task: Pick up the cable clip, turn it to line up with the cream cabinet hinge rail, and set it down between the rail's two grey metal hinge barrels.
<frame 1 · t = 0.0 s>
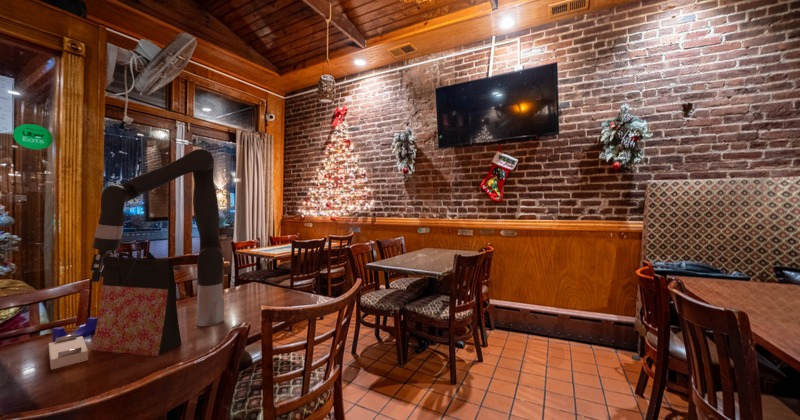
hand: (99, 279, 117), 22 cm above the table, tool pointing down, fingers open, 8 cm apart
gift bag: (140, 348, 110), on the table
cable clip: (74, 339, 117), on the table
hinge rail: (67, 355, 103), on the table
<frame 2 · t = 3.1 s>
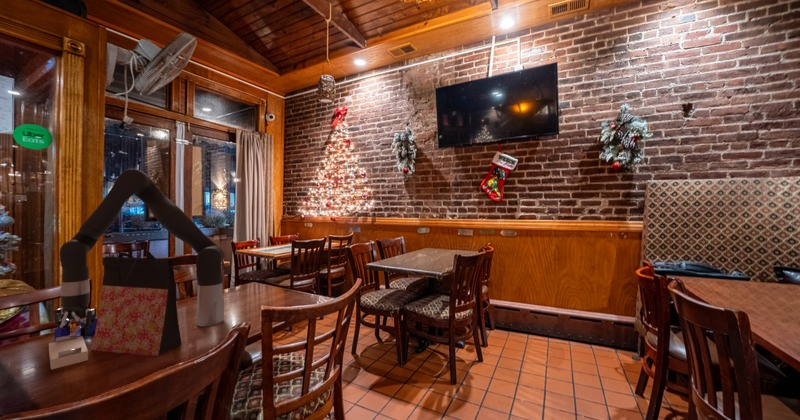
hand: (75, 336, 117), 1 cm above the table, tool pointing down, fingers open, 6 cm apart
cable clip: (75, 339, 117), on the table, touching gripper
everything else where it was.
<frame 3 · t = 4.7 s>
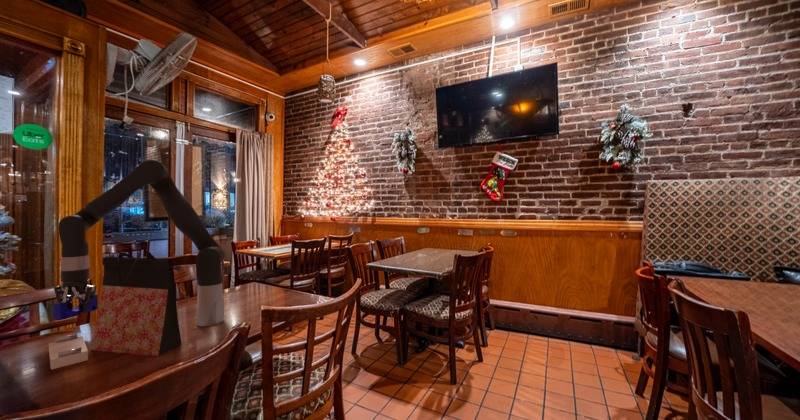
hand: (75, 312, 117), 10 cm above the table, tool pointing down, fingers closed on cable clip, 4 cm apart
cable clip: (74, 314, 117), point 9 cm above the table, touching gripper
everything else where it was.
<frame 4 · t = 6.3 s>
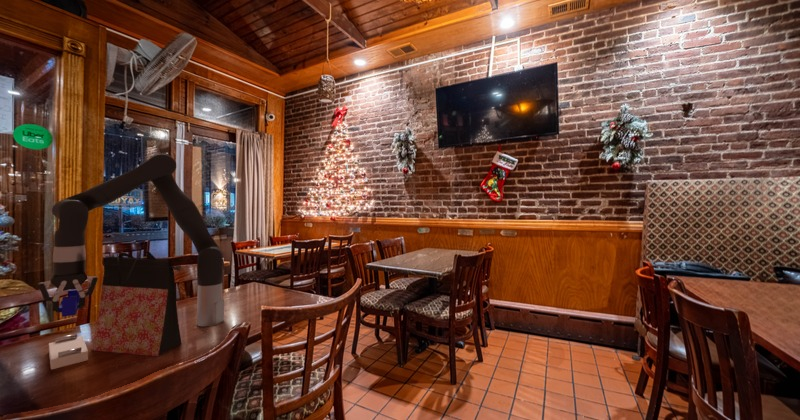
hand: (68, 309, 104), 15 cm above the table, tool pointing down, fingers closed on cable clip, 4 cm apart
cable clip: (68, 312, 104), point 15 cm above the table, touching gripper
everything else where it was.
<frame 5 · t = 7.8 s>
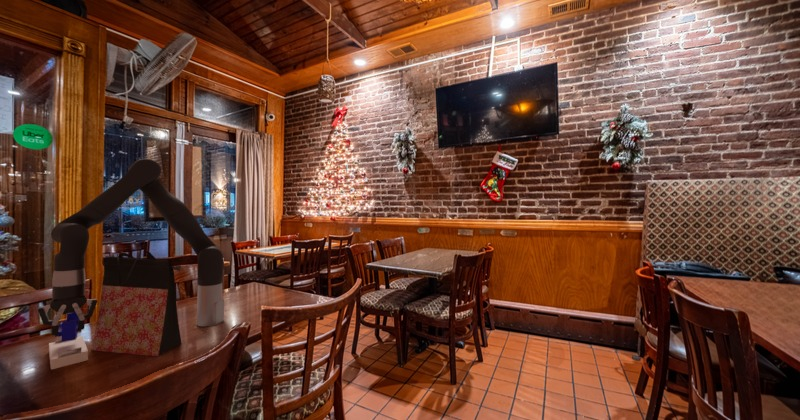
hand: (68, 333, 104), 8 cm above the table, tool pointing down, fingers closed on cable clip, 4 cm apart
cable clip: (67, 335, 103), point 7 cm above the table, touching gripper
everything else where it was.
when the fingers open (5 cm above the table, at t = 9.2 s): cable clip drops 1 cm, resting on hinge rail.
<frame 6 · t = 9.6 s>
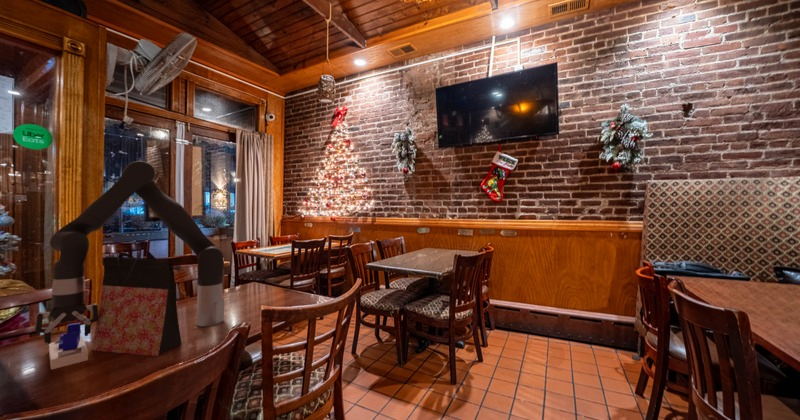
hand: (68, 339, 103), 6 cm above the table, tool pointing down, fingers open, 8 cm apart
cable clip: (68, 347, 103), point 3 cm above the table, touching hinge rail
everything else where it was.
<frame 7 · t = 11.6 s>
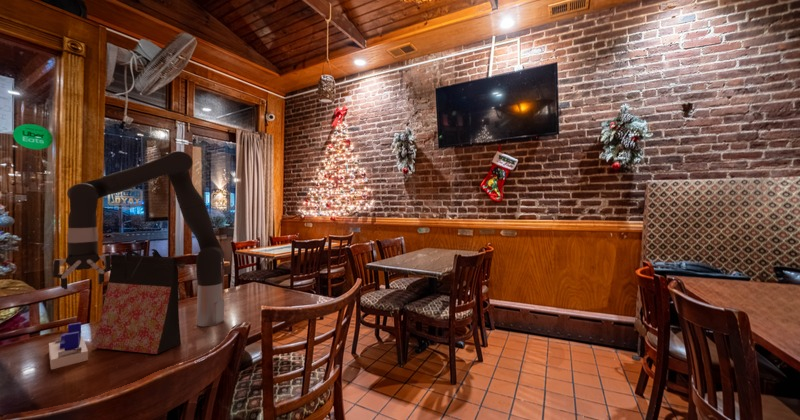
hand: (83, 286, 109), 22 cm above the table, tool pointing down, fingers open, 8 cm apart
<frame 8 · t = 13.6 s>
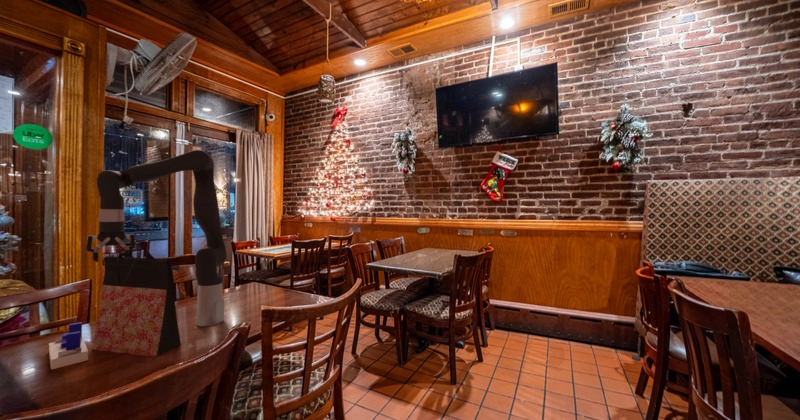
hand: (111, 260, 125), 28 cm above the table, tool pointing down, fingers open, 8 cm apart
at the end: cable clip 0.7 cm off-centre on the hinge rail, point 2.8 cm above the hinge rail's base; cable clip tilted 0°; the gripper is holding nothing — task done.
